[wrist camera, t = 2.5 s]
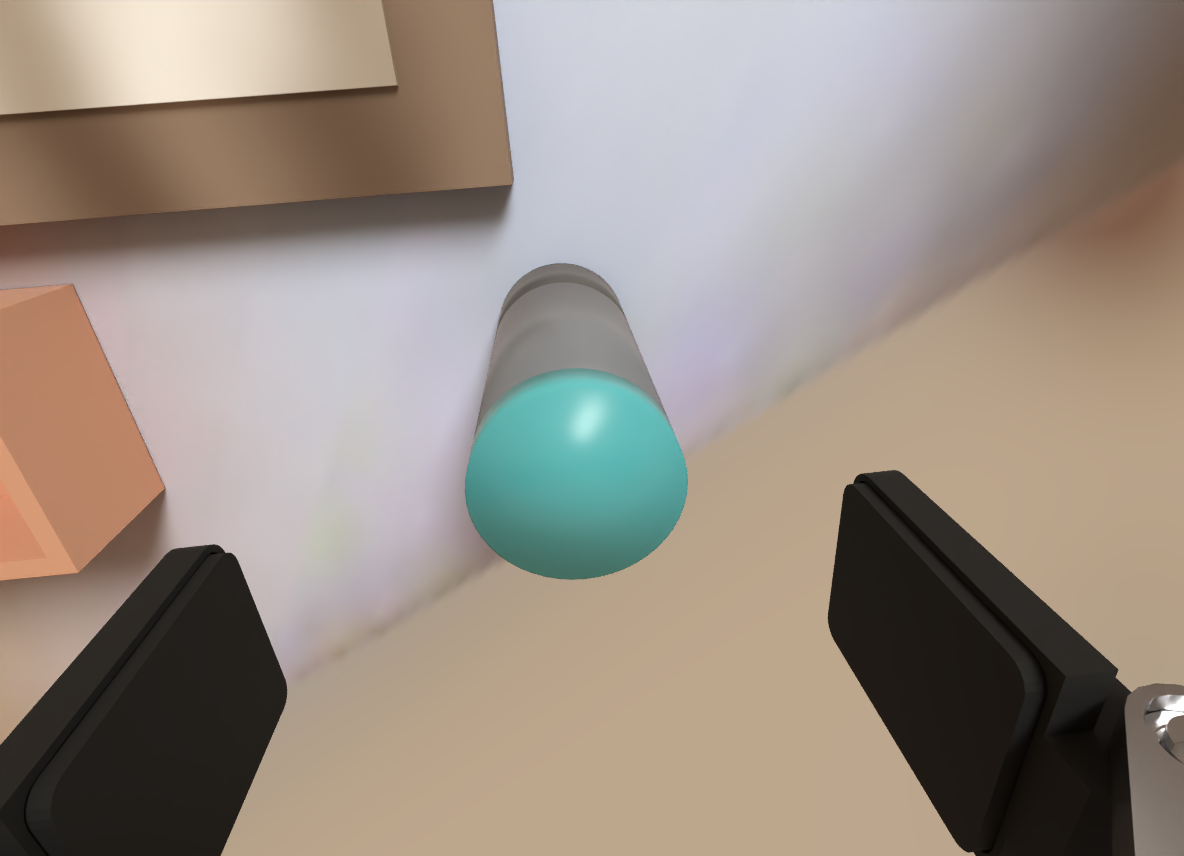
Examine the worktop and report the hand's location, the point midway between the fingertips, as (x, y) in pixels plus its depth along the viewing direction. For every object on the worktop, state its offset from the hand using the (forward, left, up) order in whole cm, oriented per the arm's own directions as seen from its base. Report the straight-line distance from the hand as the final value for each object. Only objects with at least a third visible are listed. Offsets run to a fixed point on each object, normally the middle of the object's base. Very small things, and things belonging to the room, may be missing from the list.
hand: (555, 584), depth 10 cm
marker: (-1, -1, -12) cm, 12 cm away
